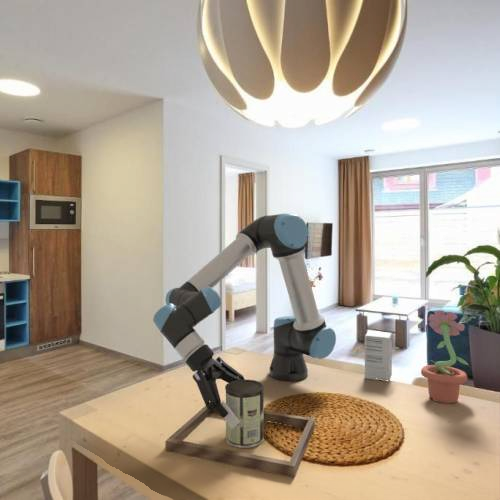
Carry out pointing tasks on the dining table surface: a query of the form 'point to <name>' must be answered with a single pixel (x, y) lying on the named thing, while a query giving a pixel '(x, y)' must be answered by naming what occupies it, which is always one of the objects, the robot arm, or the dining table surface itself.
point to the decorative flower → (441, 375)
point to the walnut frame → (240, 458)
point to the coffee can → (245, 413)
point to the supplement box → (378, 355)
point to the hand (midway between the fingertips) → (245, 414)
